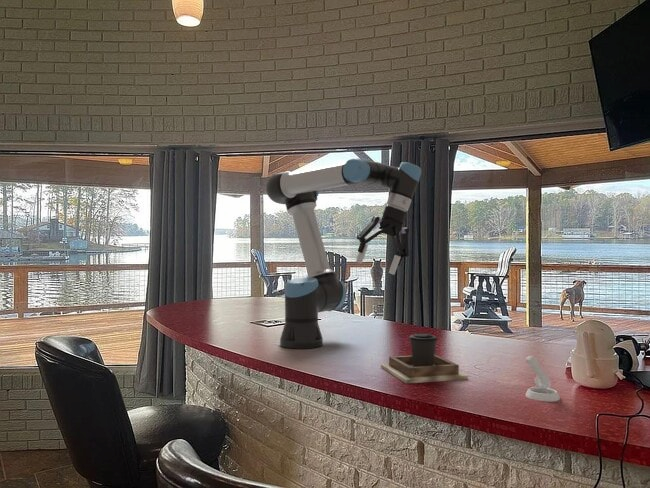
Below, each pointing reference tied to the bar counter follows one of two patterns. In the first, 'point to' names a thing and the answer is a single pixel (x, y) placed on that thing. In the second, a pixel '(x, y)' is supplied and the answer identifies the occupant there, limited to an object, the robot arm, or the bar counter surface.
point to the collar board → (423, 370)
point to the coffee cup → (423, 349)
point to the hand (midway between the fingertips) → (375, 268)
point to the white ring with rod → (541, 384)
